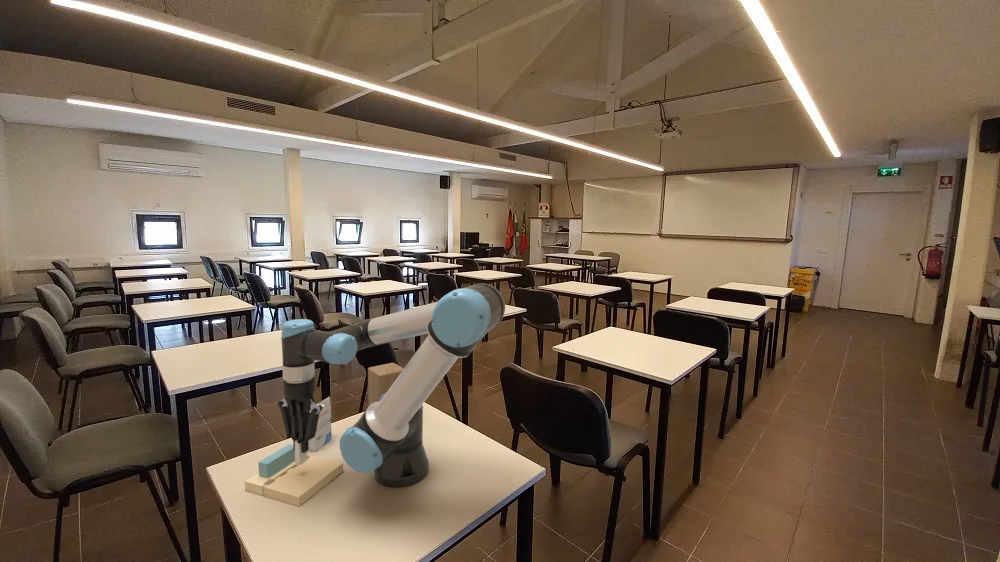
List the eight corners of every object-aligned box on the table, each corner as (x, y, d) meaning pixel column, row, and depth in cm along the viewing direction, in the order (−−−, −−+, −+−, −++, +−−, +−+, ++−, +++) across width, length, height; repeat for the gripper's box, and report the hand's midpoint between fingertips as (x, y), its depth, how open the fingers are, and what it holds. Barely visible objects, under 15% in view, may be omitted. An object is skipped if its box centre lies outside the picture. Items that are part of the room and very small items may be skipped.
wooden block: (394, 413, 154) (393, 362, 151) (406, 423, 146) (406, 369, 144) (368, 420, 147) (367, 367, 145) (380, 431, 140) (379, 375, 137)
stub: (309, 462, 120) (309, 441, 120) (262, 495, 105) (261, 471, 105) (293, 458, 122) (293, 438, 122) (245, 490, 107) (243, 466, 107)
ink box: (318, 436, 135) (317, 394, 133) (332, 438, 134) (331, 395, 133) (301, 450, 127) (299, 405, 125) (315, 452, 126) (314, 406, 124)
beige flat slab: (343, 471, 117) (342, 462, 116) (298, 506, 102) (298, 496, 101) (310, 462, 120) (310, 454, 120) (263, 495, 105) (263, 486, 105)
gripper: (329, 377, 109) (330, 460, 112) (291, 370, 113) (293, 450, 116) (308, 387, 102) (310, 475, 105) (268, 379, 106) (271, 464, 109)
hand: (301, 462), depth 111 cm, fingers closed
